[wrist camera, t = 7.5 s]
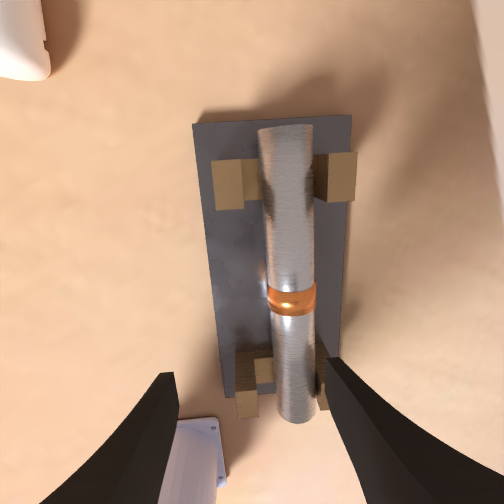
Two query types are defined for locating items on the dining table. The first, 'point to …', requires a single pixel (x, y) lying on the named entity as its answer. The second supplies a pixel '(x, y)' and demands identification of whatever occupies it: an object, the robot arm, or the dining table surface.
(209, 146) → the grey tube holder
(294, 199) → the tube
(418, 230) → the dining table surface
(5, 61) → the unicorn horn
